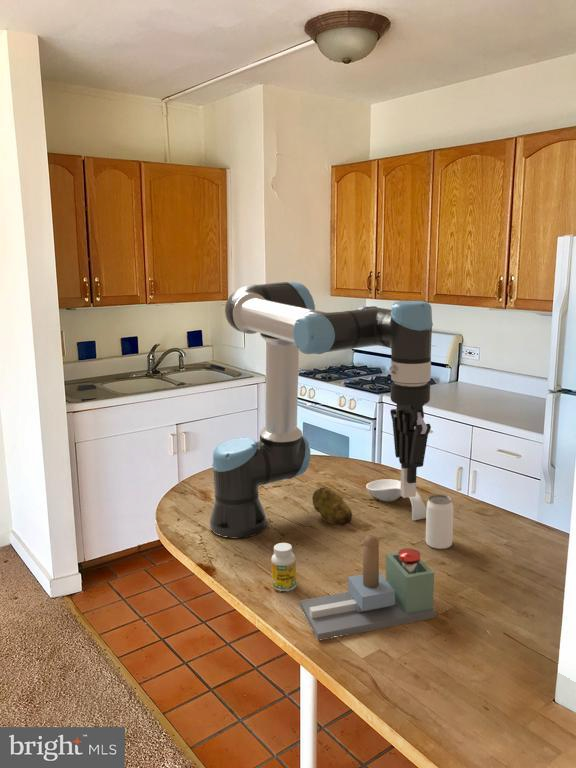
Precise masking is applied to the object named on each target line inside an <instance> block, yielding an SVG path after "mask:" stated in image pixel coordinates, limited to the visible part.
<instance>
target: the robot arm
mask: <svg viewBox="0 0 576 768" xmlns="http://www.w3.org/2000/svg"><path fill="white" fill-rule="evenodd" d="M224 315H225V318H226V320H227V322H228V323H229V326H231V327H232V328H233V329H234V330H235V331H238V332H241V333H244V334H248V335H254V334H256V333H259V334H260V337H261V338H262V339H263V340H264V341H265V407H264V408H265V411H264V412H265V418H264V419H265V422H264V426H263V428H262V429H260V431H259V441H255V439H253V438H250V437H241V438H240V437H236V438H232V439H228V440H225V441H223V442H221V443H220V444H218V445H217V446H216V447H215V448H214V450H213V452H212V465H211V466H212V470H213V481H214V482H213V485H214V497H215V498H214V504H213V507H212V511H211V514H210V519H209V528H211V529H212V531H214V532H215V533H217V534H220V535H222V536H227V537H244V538H247V537H246V536H249V537H252V536H251V535H253V536H255V535H257V533H258V534H259V532H260V533H261V532H263V531H264V530H265V529H266V527H267V517H266V513H265V510H264V508H263V506H262V502H261V500H260V498H259V487H260V486H263V485H268V484H271V483H272V484H273V483H276V482H280V481H281V482H282V481H284V480H291V479H294V478H295V477H299V476H301V475H303V474H304V473H305V472H306V471H307V470H308V468H309V466H310V463H311V447H309V443H310V442H309V441H308V439H307V438H306V436H305V435H303V431H302V430H301V429H300V428H299V427H298V405H299V402H298V399H299V397H298V393H299V361H300V360H299V355H300V353H299V352H301V353H302V354H306V355H322V354H325V353H331V352H337V351H345V350H352V349H353V350H354V349H359V348H366V347H374V346H375V347H377V346H378V347H385V348H389V349H390V350H391V351H390V352H391V354H390V355H391V356H390V360H391V361H390V367H389V371H390V373H391V374H390V379H391V381H392V382H391V383H390V401H391V402H392V403H394V404H396V408H394V409H393V408H392V409H390V416H391V420H392V431H393V442H394V443H393V444H394V454H395V457H396V459H397V458H398V461H399V464H400V481H401V493H400V495H401V497H402V498H403V499H406V498H409V497H414V496H416V491H417V472H418V471H417V470H418V468H421V467H423V466H424V462H425V457H426V456H425V455H426V450H427V444H428V438H429V434H430V431H431V430H432V429H431V428H432V427H431V424H430V423H426V422H425V419H424V417H425V412H424V406H425V405H426V404H428V403H429V402H430V400H431V384H430V383H429V382H430V381H431V377H432V376H431V373H432V372H431V371H432V370H431V369H432V336H433V335H432V333H433V331H432V330H433V325H434V323H433V314H432V306H431V303H429V302H428V301H423V300H398V301H395V302H394V303H392V306H391V309H389V308H384V307H383V308H382V307H378V306H376V305H375V306H374V305H372V306H361V307H358V308H357V309H355V310H344V311H343V310H342V311H332V312H324V311H319V310H316V305H315V301H314V298H313V295H312V294H311V293H310V290H309V289H308V288H307V287H306V286H305V285H304V284H302V283H301V282H297V281H295V282H294V281H293V282H292V281H291V282H290V281H289V282H288V281H282V282H272V283H260V284H248V285H243V286H241V287H239V288H238V289H236V290H235V291H234V292H232V293H231V294H230V296H229V297H228V299H227V300H226V303H225V308H224ZM211 529H210V530H211ZM263 529H264V530H263ZM212 531H211V532H212ZM254 534H255V535H254Z"/></svg>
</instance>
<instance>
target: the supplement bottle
mask: <svg viewBox="0 0 576 768" xmlns="http://www.w3.org/2000/svg"><path fill="white" fill-rule="evenodd" d="M296 569H297V563H296V556H295V554H294V553H293V546H292V544H290V543H287V542H279V543H277V544H275V545H274V546H273V554H272V556H271V582H272V584H271V585H272V588H273V587H274V588H275V589H277V590H280V591H279V592H281V591H287V592H290V591H289V590H291V591H292V590H295V588H296V587H297V570H296ZM274 588H273V589H274ZM275 589H274V590H275ZM277 590H276V591H277Z"/></svg>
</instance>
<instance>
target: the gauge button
mask: <svg viewBox="0 0 576 768" xmlns="http://www.w3.org/2000/svg"><path fill="white" fill-rule="evenodd" d="M398 552H399V560H400V561H401V562H402V567H403V568H404V569H405V570H406V571H407V573H408V574H413V573H416V571H417V563H418V562H419V561H420V559H421V552H420V551H419V550H417V549H416V548H412V547H411V548H410V547H409V548H408V547H405V548H402V549H400V550H399V551H398Z"/></svg>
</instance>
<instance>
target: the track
mask: <svg viewBox="0 0 576 768" xmlns="http://www.w3.org/2000/svg"><path fill="white" fill-rule="evenodd" d="M385 580H386V581H387V582H388V583H389V585H390V586H391V587H392V588H393V589H394V591H395V605H391V606H390V607H385V608H379V609H374V610H369V611H363V612H358V611H357V602H356V601H355V600H354V599H352V600H351V594H350V592H349V591H346V592H341V593H340V592H339V593H336V594H331V595H325V596H318V597H313V598H307V599H301V600H299V607H301V608H300V609H302V610H301V612H302V611H303V612H304V614H305V616H306V617H305V616H304V617H305V619H306V618H307V619H306V621H307V620H308V621H307V623H308V622H309V623H308V625H309V624H310V625H309V627H310V626H311V627H312V629H313V631H312V633H313V632H314V633H313V635H314V634H315V635H316V637H317V639H318V640H320V639H324V638H325V640H327V639H326V638H330V639H332V638H331V637H334V636H340V635H345V636H347V635H346V634H350V635H355V634H360V633H365V632H369V631H374V630H375V631H376V630H379V629H386V628H389V627H394V626H400V625H404V624H405V625H406V624H410V623H411V624H412V623H414V622H419V621H420V622H421V621H426V620H430V619H435V618H436V610H435V608H434V589H435V588H434V587H435V585H434V584H435V572H434V571H433V570H432V569H431V568H430V567H429V566H428V565H427V564H426V563H425V562H424V561H423V560H422V559H421V558H420V561H419V562H418V563H417V571H416V573H413V574H408V573H407V571H406V570H405V569H404V568H403V567H402V562H401V561H400V560H399V551H396V552H389V553H385ZM303 612H302V613H303ZM304 614H303V615H304ZM311 627H310V628H311ZM312 629H311V630H312ZM354 633H355V634H354ZM315 635H314V636H315ZM316 637H315V638H316ZM340 637H341V636H340ZM317 639H316V640H317ZM318 640H317V641H318ZM320 641H321V640H320Z"/></svg>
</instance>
